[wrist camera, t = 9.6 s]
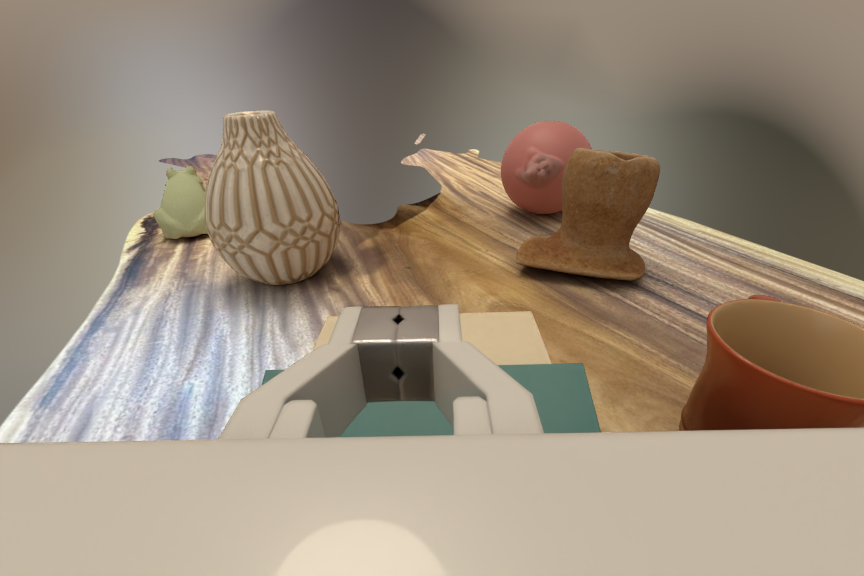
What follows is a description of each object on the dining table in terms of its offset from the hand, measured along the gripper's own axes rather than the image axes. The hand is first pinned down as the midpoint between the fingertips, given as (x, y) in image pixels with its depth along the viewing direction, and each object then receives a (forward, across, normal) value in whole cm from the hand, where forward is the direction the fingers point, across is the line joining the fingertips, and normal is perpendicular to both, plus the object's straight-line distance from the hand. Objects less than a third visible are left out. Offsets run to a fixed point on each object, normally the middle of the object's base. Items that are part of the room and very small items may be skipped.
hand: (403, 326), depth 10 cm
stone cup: (+38, -20, +18) cm, 46 cm away
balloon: (+58, -19, +18) cm, 63 cm away
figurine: (+58, +43, +18) cm, 75 cm away
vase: (+39, +20, +18) cm, 47 cm away
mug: (+10, -21, +18) cm, 29 cm away
